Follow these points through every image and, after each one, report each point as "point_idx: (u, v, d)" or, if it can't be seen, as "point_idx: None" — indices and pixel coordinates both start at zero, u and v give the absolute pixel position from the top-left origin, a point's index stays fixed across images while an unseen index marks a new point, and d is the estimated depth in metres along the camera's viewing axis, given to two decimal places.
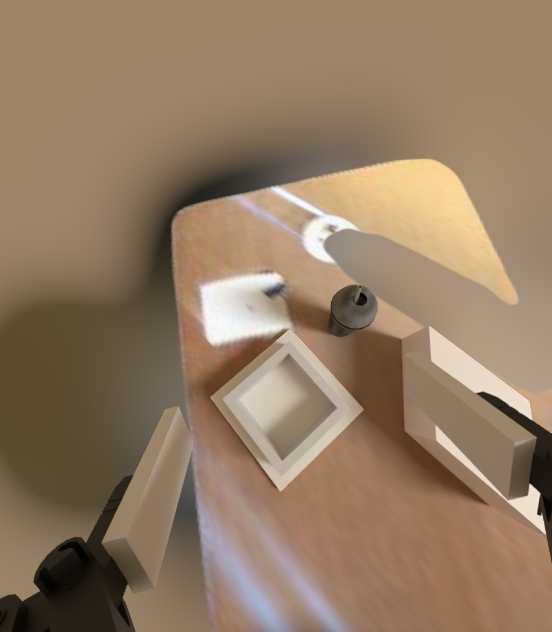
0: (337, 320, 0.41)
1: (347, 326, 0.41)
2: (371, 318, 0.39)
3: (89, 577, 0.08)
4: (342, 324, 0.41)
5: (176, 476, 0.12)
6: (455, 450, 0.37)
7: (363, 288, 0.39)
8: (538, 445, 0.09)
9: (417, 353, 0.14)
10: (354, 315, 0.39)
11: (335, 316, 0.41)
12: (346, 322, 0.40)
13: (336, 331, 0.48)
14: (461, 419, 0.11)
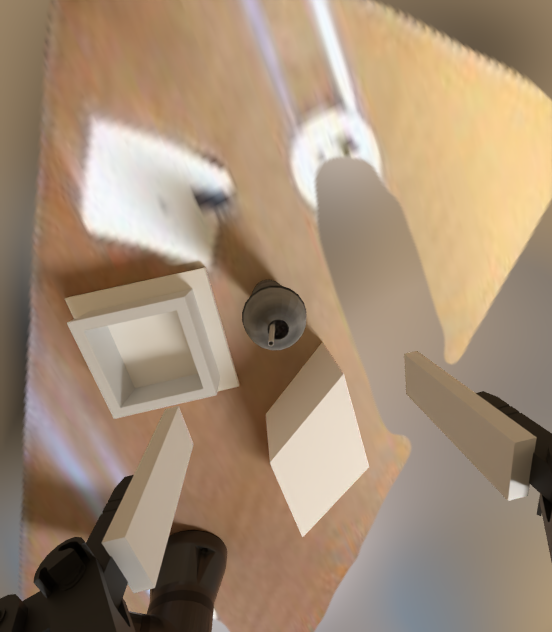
0: (243, 324, 0.29)
1: None
2: (281, 349, 0.29)
3: (89, 577, 0.08)
4: None
5: (176, 476, 0.12)
6: (279, 474, 0.38)
7: (294, 315, 0.26)
8: (538, 445, 0.09)
9: (417, 353, 0.14)
10: (260, 341, 0.27)
11: (243, 318, 0.29)
12: None
13: None
14: (461, 419, 0.11)
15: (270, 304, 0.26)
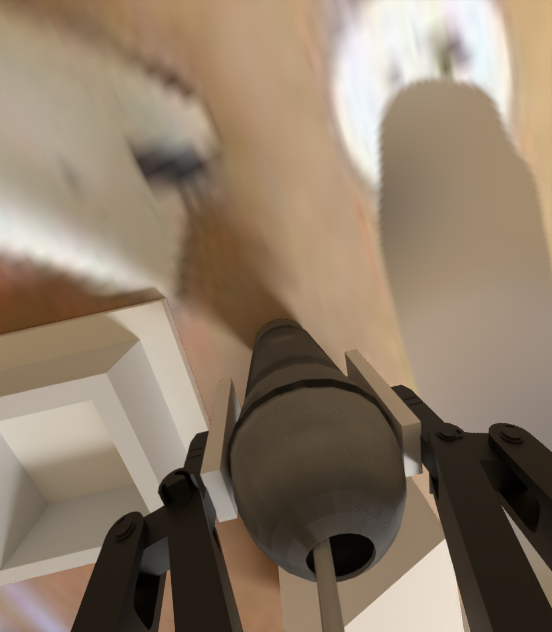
0: (231, 474, 0.11)
1: None
2: (333, 547, 0.11)
3: (194, 503, 0.09)
4: None
5: None
6: None
7: (389, 501, 0.08)
8: (426, 429, 0.11)
9: (355, 351, 0.16)
10: None
11: (231, 466, 0.11)
12: None
13: None
14: None
15: (314, 472, 0.08)
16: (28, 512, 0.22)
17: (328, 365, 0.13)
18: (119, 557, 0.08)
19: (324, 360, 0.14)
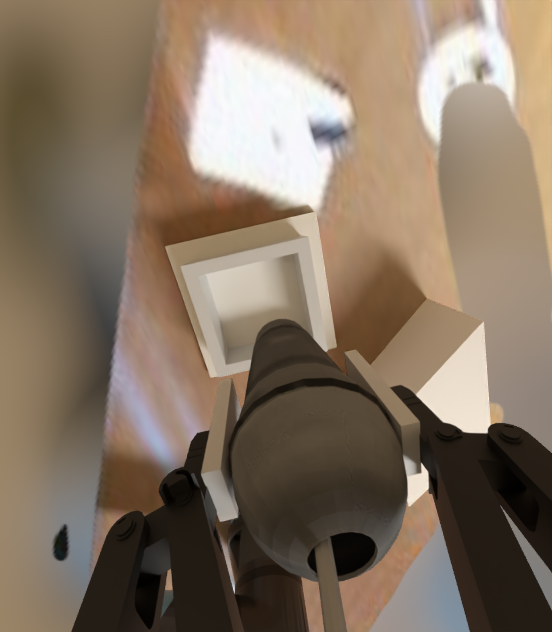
0: (232, 474, 0.11)
1: None
2: (334, 547, 0.11)
3: (195, 502, 0.09)
4: None
5: None
6: None
7: (391, 500, 0.08)
8: (425, 429, 0.11)
9: (355, 351, 0.16)
10: None
11: (231, 465, 0.11)
12: None
13: None
14: None
15: (315, 471, 0.08)
16: (225, 345, 0.37)
17: (328, 364, 0.13)
18: (120, 557, 0.08)
19: (324, 359, 0.14)
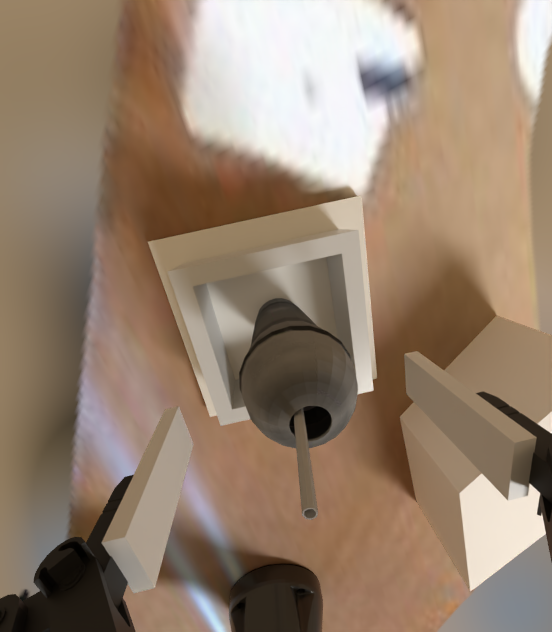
0: (241, 393, 0.16)
1: None
2: None
3: (89, 577, 0.08)
4: None
5: (176, 476, 0.12)
6: (468, 509, 0.25)
7: (341, 392, 0.13)
8: (538, 445, 0.09)
9: (417, 353, 0.14)
10: (273, 436, 0.14)
11: (241, 385, 0.16)
12: None
13: None
14: (461, 419, 0.11)
15: (295, 372, 0.13)
16: (231, 378, 0.27)
17: (311, 323, 0.18)
18: None
19: (308, 321, 0.19)
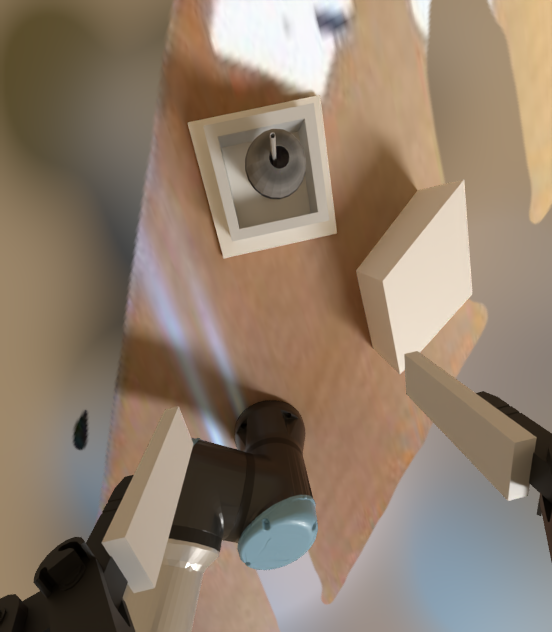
0: (246, 170, 0.31)
1: (253, 185, 0.31)
2: (282, 192, 0.30)
3: (89, 577, 0.08)
4: (249, 178, 0.31)
5: (176, 476, 0.12)
6: (389, 295, 0.40)
7: (294, 145, 0.28)
8: (538, 445, 0.09)
9: (417, 353, 0.14)
10: (262, 175, 0.29)
11: (246, 163, 0.30)
12: (252, 178, 0.30)
13: None
14: (461, 419, 0.11)
15: None
16: (238, 221, 0.42)
17: None
18: None
19: None
